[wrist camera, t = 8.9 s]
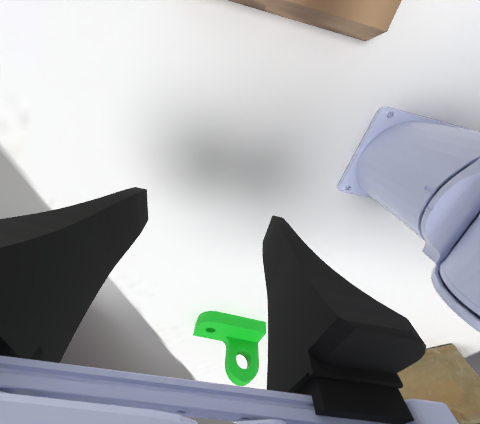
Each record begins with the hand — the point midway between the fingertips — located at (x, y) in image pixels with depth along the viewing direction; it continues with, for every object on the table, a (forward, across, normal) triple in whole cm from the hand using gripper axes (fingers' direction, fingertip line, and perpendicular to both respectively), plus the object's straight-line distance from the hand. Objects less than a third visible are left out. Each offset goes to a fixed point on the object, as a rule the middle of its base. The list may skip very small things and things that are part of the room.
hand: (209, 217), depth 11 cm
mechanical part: (+10, -6, +30) cm, 32 cm away
